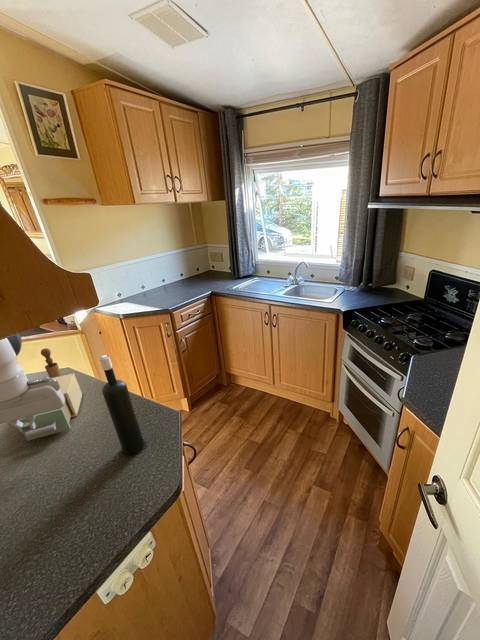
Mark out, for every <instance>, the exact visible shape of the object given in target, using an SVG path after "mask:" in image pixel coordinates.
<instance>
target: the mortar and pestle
mask: <svg viewBox="0 0 480 640" xmlns="http://www.w3.org/2000/svg"><path fill="white" fill-rule="evenodd" d="M51 354H52V351H51V349H50V348H47V347H46V348H42V349H41V350H40V355H41V356H42V357H44V358H45V360H44V362H45V363H46V364H45V366H44V369H45V371H46V372H47V375H48V377H49V378H54V377H59V376H63V375H62V372H61V369H60V368H59V365H58V363H57V362H54V360H53V358H52V357H51Z"/></svg>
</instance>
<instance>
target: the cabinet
mask: <svg viewBox="0 0 480 640" xmlns="http://www.w3.org/2000/svg"><path fill="white" fill-rule="evenodd" d="M53 379H56V380H57V382H58V384H59V386H60V388H59V389H60V390H61V392H62V393H63V395H64V396H66V398H67V401H68V403H69V405H70V408H71V410H72V414H71V417H70V419H71V418H75V417H78V415H79V414H78V413H79V411H80V410H79V409H80V405H81V401H82V397H83V393H82V390H81V387H80V384H79V381H78V380H77V377H76V375H75V373H74V372H72V373H69V374H64V375H62V376H59V377H54V378H53Z"/></svg>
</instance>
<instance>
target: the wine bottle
mask: <svg viewBox="0 0 480 640" xmlns="http://www.w3.org/2000/svg"><path fill="white" fill-rule="evenodd" d="M98 359H99V361H100V365H101V367H102V370H103V373H104V375H105V378H106V382H107V383H105V384H104V385H103V386H102V389H101V393H102V395H103V398H104V402H105V404H106V407H107V410H108V412H109V415H110V418H111V421H112V424H113V426H114V429H115V432H116V435H117V438H118V441H119V444H120V447H121V450H122V452H123V454H124V455H126V456H133V455H136V454H138V453H140V452H141V451H142V450H143V449H144V447H145V440H144V438H143V434H142V431H141V428H140V425H139V421H138V418H137V415H136V412H135V408H134V405H133V402H132V399H131V395H130V391H129V388H128V386H127V384H126V382H125V381H124V380H122V379H117V378H116V374H115V371H114V369H113V368H114V367H113V364H112V360H111V357H110V355H109V354H108V355H107V354H103V355H102V356H100V357H98Z"/></svg>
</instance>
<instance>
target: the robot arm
mask: <svg viewBox="0 0 480 640" xmlns="http://www.w3.org/2000/svg"><path fill="white" fill-rule="evenodd" d="M22 345H23V341H22V337H21V335H20V334H19V333H18V334H17V335H15V336H12V337H8V338H5V339H2V340H0V425H3V424H7V423H9V425H10V426H12V427H13V428H15V429H18V430H19V431H20V433H21V434H23V432H26V431H30V430H34V429H35V428H36V425H35V423H34V419H35V416H36V415H38V414H42V413H45V412H49V411H53V410H57V409H60V408H62V407H63V405H64V403H65V397H64V395H63V393H62V392H61V390H60V389H59V388H60V386H59V384H58V382H57V380H56V379H53V378H50V377H49V376H48V377H43V378H40V379H39V378H38V379H32V380H29V378H28V376H27V374H26V373H25V370H24V368H23V367H22V366H21V364H19V363H18V359H17V357H18V356H19V354H20V352H21V349H22ZM22 418H27V420H30V422H28V423H22V422H20V421H19V419H22Z"/></svg>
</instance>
